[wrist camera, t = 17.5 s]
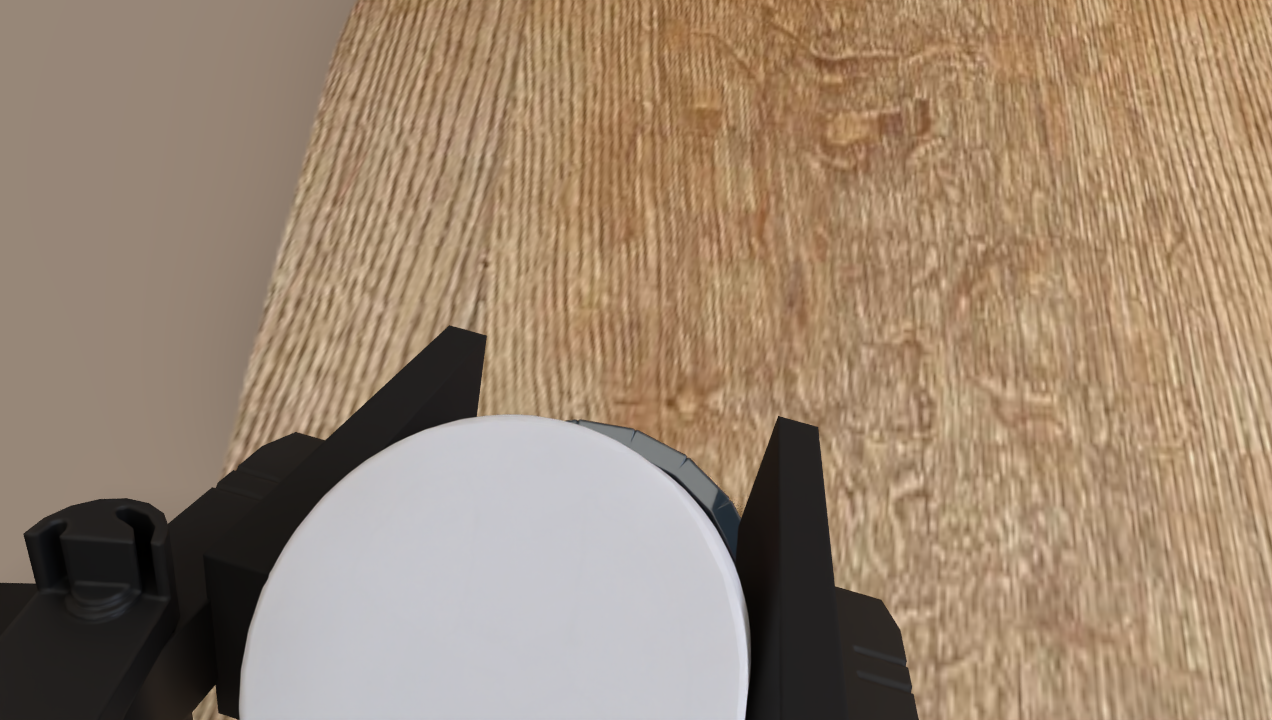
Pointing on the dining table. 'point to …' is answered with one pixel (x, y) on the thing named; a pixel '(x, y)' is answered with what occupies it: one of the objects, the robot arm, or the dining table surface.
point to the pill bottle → (501, 588)
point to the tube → (680, 477)
